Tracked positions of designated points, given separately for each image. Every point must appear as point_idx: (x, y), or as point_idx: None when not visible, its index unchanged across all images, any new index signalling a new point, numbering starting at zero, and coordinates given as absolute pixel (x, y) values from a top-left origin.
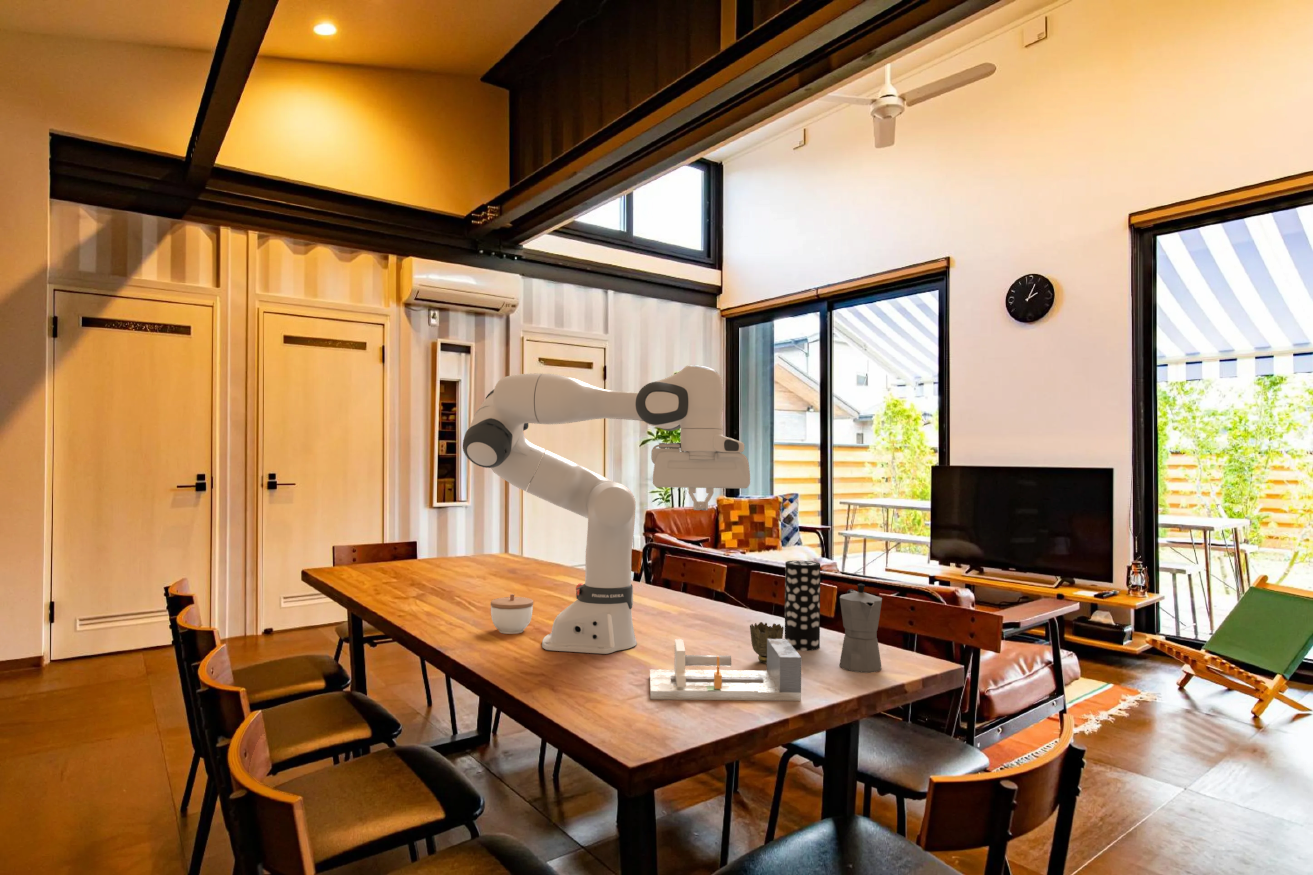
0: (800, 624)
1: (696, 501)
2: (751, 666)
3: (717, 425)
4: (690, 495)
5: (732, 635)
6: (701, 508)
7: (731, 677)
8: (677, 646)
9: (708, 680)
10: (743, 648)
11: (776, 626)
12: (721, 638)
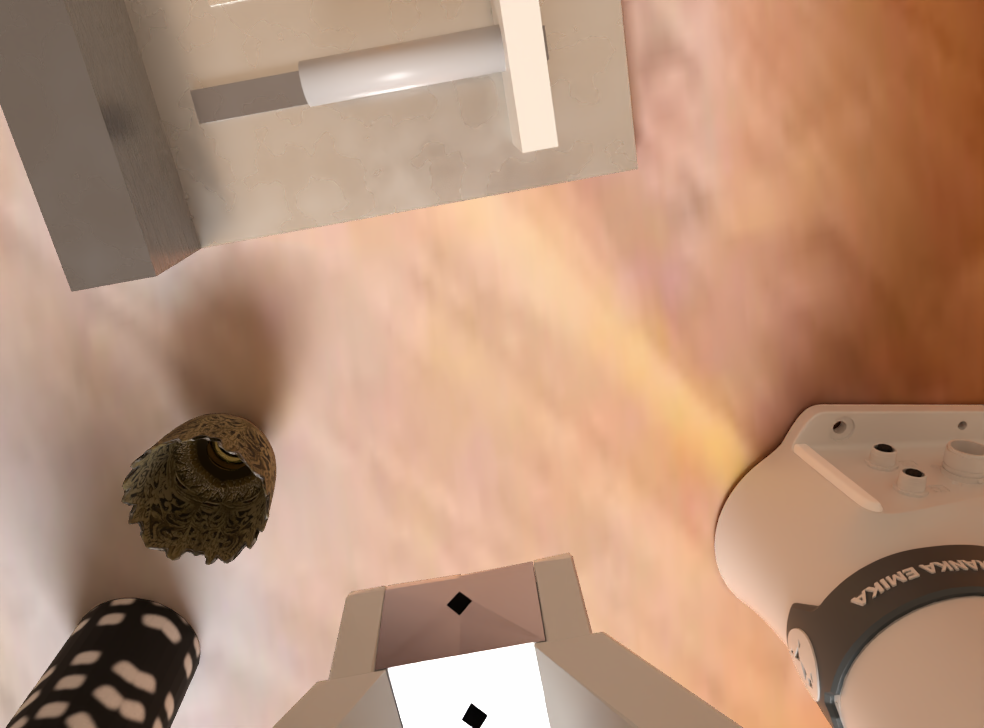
0: (96, 664)
1: (547, 640)
2: (282, 373)
3: None
4: (699, 700)
5: None
6: (451, 577)
7: None
8: (533, 6)
9: None
10: (337, 580)
11: (164, 544)
12: None
